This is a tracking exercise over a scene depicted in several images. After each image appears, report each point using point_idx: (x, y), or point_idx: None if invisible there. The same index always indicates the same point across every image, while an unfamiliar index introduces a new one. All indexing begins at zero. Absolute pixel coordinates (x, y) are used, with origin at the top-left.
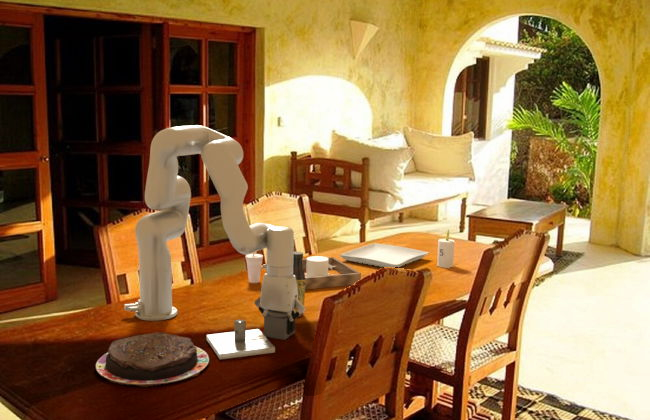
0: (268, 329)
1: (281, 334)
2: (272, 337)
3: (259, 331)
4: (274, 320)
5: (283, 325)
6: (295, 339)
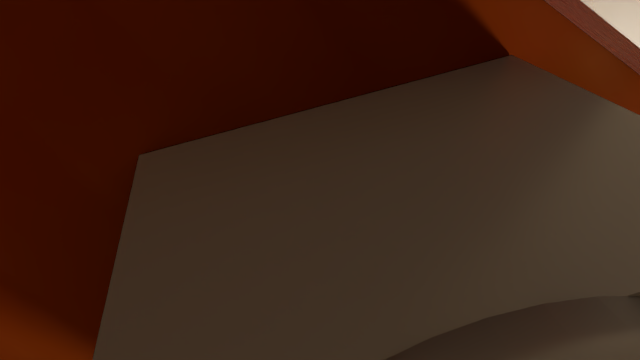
0: (499, 119)
1: (200, 175)
2: (367, 98)
3: (634, 11)
4: (447, 277)
5: (144, 302)
6: (26, 284)
